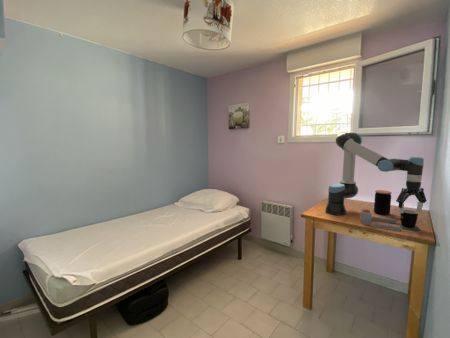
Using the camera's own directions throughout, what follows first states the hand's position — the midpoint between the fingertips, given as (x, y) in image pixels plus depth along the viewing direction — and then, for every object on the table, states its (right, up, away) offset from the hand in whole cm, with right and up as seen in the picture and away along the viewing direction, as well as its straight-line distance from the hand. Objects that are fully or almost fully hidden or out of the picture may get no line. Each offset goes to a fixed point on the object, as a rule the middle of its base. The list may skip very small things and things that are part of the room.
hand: (409, 212), depth 150 cm
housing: (-15, -10, +8) cm, 20 cm away
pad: (0, -11, +1) cm, 11 cm away
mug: (0, -10, +1) cm, 10 cm away
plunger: (-22, -5, +11) cm, 26 cm away
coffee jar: (+3, -7, +31) cm, 32 cm away
